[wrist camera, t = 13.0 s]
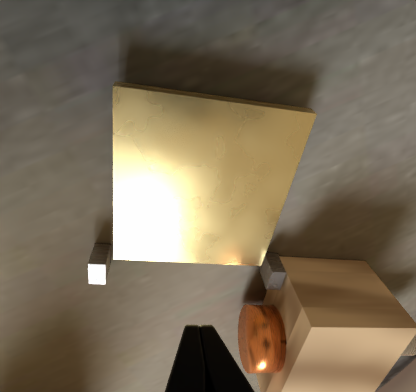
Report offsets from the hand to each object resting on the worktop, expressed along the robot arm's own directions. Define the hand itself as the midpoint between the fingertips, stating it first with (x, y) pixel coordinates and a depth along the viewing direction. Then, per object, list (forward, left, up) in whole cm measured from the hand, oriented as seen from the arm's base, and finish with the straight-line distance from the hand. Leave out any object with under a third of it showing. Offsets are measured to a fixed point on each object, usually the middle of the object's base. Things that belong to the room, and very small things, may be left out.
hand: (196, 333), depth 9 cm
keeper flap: (0, -1, -10) cm, 10 cm away
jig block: (-11, -11, -11) cm, 19 cm away
